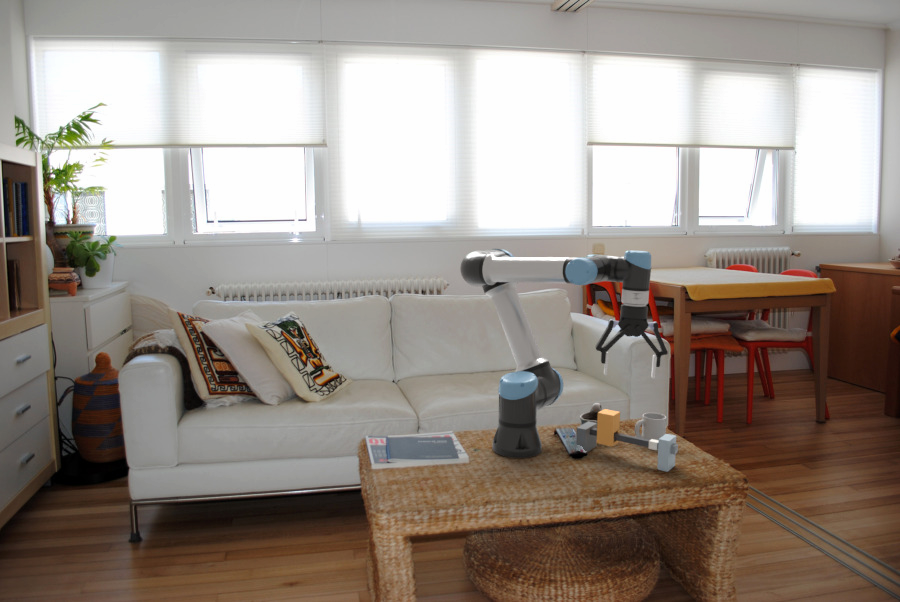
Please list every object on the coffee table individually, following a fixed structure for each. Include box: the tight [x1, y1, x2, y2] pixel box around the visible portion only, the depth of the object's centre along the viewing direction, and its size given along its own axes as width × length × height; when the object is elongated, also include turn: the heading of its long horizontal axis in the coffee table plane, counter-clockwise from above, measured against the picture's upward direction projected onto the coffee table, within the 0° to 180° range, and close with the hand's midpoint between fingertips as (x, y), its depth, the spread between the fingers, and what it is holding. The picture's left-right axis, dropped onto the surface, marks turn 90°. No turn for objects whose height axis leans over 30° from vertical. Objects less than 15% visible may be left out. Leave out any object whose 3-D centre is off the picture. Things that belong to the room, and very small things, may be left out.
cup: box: [634, 412, 667, 440], centre depth 210 cm, size 7×10×9 cm
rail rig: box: [575, 421, 679, 473], centre depth 197 cm, size 29×8×9 cm, turn 53°
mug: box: [579, 402, 603, 426], centre depth 217 cm, size 10×12×10 cm
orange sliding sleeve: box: [596, 408, 621, 447], centre depth 200 cm, size 5×5×10 cm
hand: (629, 376), depth 194 cm, fingers open, 13 cm apart
